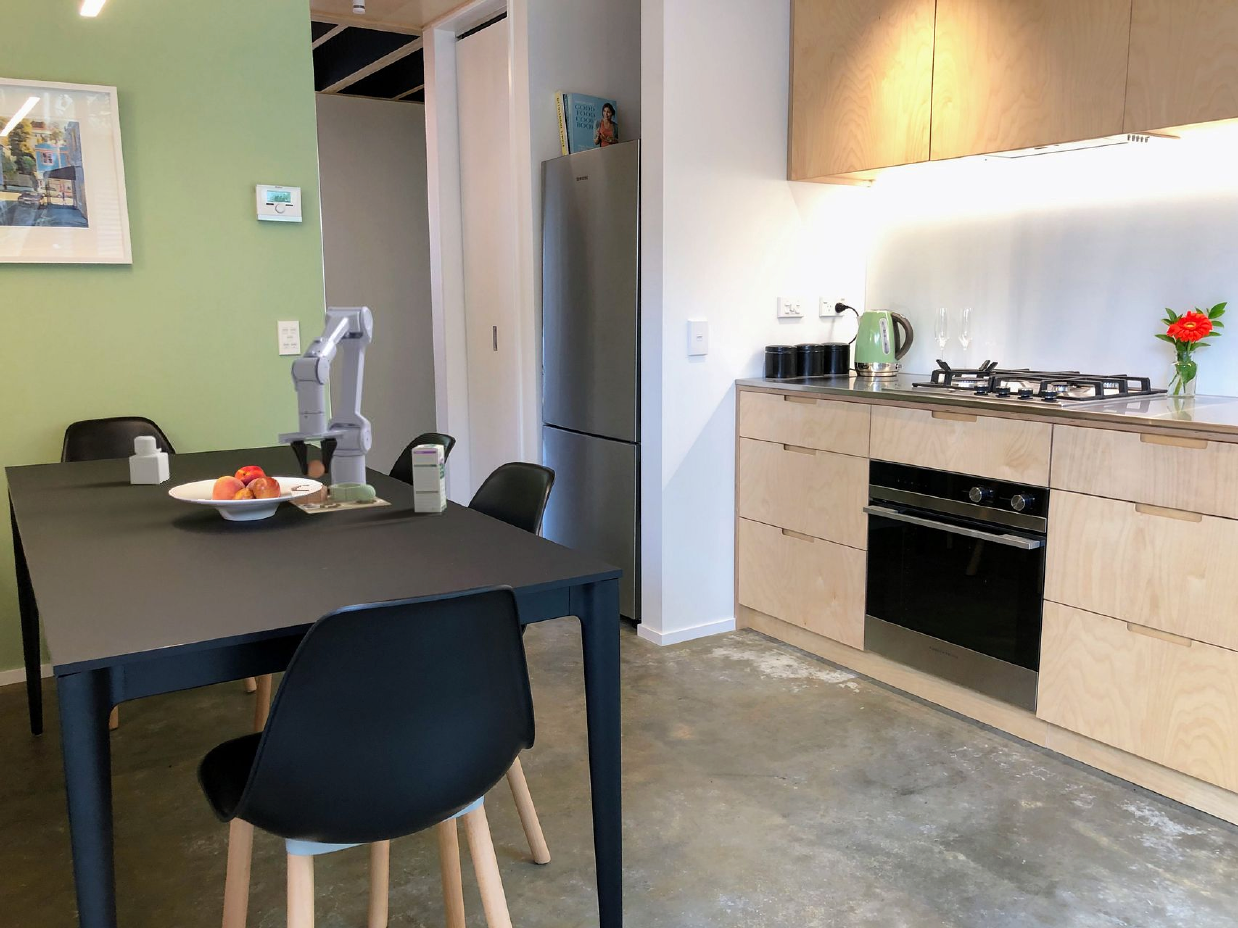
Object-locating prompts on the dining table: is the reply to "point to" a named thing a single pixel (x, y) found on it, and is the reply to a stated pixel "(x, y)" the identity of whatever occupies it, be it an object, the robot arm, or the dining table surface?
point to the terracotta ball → (315, 468)
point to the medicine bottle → (148, 461)
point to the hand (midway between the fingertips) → (315, 473)
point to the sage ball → (366, 493)
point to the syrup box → (429, 478)
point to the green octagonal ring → (344, 492)
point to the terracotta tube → (311, 496)
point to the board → (339, 505)
